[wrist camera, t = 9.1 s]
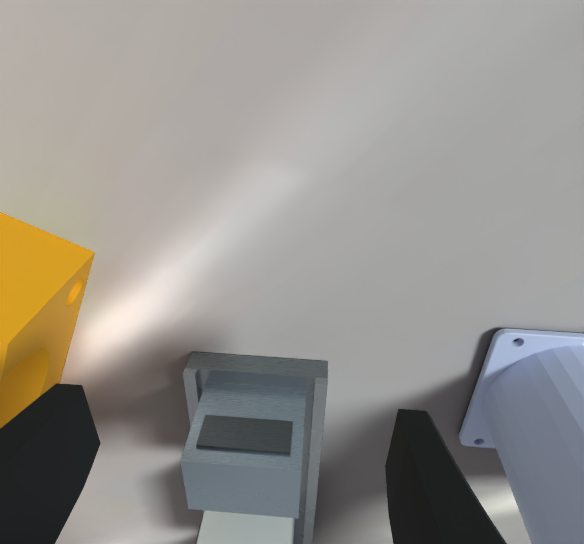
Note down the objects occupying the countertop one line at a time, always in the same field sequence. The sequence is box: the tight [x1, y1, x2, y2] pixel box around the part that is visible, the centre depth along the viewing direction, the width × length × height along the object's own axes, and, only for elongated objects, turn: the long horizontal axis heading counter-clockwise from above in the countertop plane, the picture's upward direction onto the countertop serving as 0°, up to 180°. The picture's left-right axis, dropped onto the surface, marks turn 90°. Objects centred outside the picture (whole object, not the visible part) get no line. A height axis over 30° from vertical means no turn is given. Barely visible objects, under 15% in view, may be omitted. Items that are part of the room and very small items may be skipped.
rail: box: [180, 352, 328, 544], centre depth 25 cm, size 7×20×6 cm, turn 178°
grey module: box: [195, 510, 295, 544], centre depth 24 cm, size 5×6×5 cm
